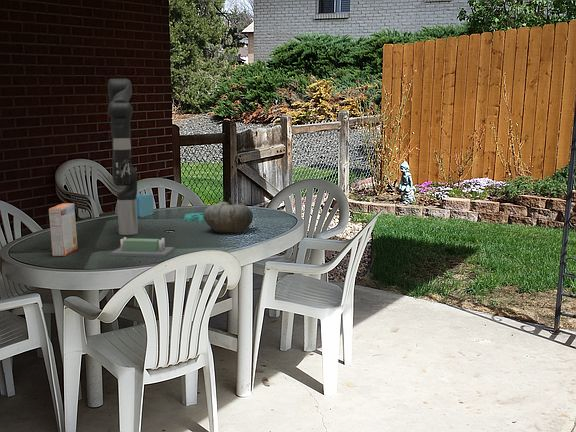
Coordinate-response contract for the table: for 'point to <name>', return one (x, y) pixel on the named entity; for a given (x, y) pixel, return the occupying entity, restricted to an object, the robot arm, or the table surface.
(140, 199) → the light blue block
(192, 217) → the alien figure
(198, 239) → the table surface
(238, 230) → the gourd
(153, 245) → the green rectangular block
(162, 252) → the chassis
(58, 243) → the cracker box
